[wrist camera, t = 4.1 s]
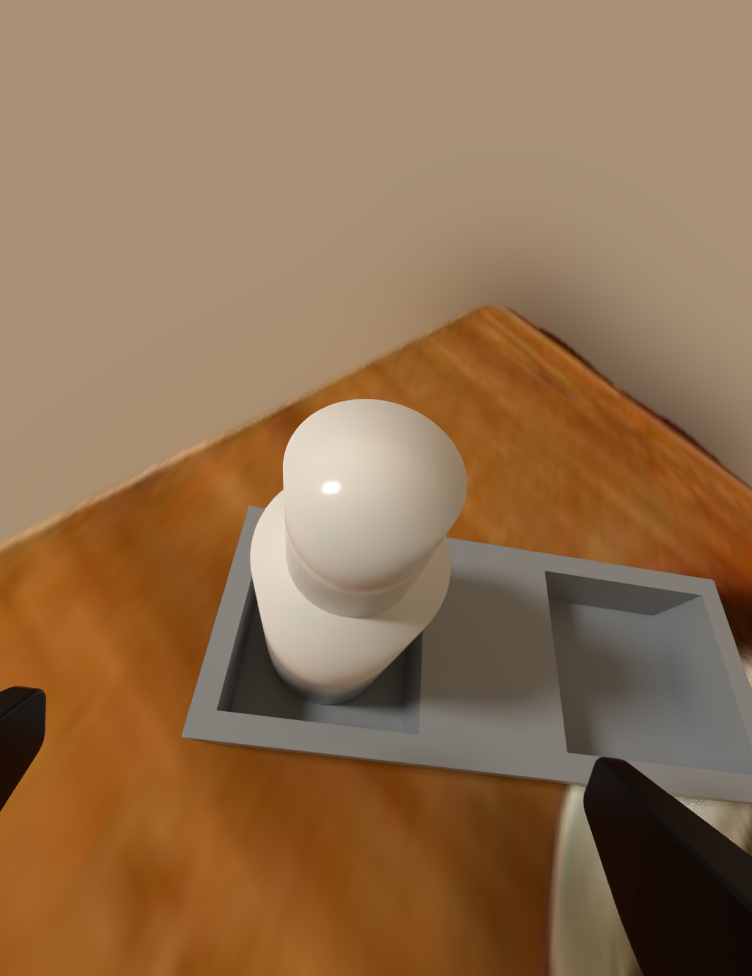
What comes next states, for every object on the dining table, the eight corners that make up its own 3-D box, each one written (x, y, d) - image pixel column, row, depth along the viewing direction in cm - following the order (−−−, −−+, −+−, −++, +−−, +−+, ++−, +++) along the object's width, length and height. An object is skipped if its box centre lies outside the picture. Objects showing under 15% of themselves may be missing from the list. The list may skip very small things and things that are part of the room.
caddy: (706, 800, 18) (791, 807, 15) (202, 742, 16) (181, 736, 13) (656, 605, 22) (713, 579, 19) (255, 544, 20) (249, 505, 17)
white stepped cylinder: (408, 656, 18) (565, 510, 8) (308, 733, 16) (336, 675, 6) (344, 564, 20) (401, 342, 9) (246, 623, 18) (182, 424, 7)
